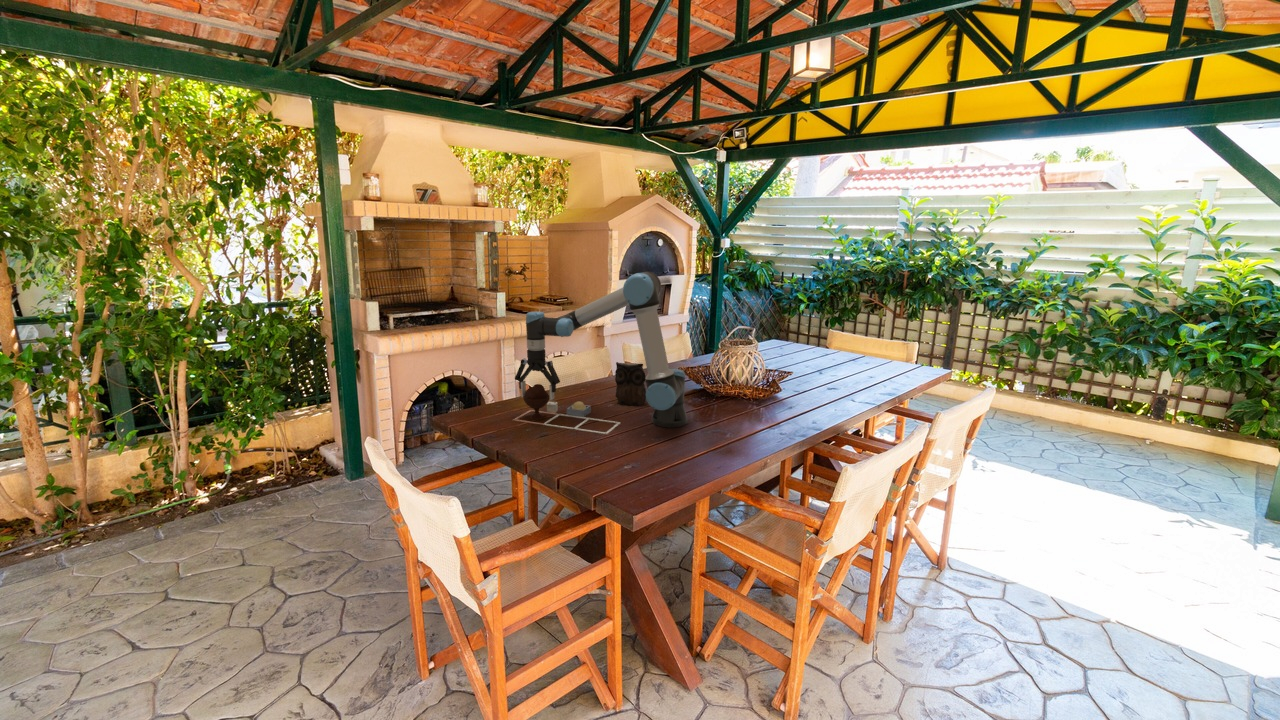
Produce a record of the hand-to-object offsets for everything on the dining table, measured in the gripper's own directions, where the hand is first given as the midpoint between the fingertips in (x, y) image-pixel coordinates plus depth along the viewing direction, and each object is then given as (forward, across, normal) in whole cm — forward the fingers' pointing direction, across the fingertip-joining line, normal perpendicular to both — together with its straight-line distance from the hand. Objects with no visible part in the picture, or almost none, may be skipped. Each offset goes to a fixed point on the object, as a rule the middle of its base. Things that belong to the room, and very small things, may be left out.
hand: (537, 397), depth 247 cm
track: (+9, +13, 0) cm, 16 cm away
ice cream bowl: (+9, -1, 0) cm, 9 cm away
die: (+9, +1, +10) cm, 14 cm away
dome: (+9, +13, +12) cm, 20 cm away
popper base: (+9, +13, +12) cm, 20 cm away
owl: (+10, +29, +37) cm, 48 cm away
